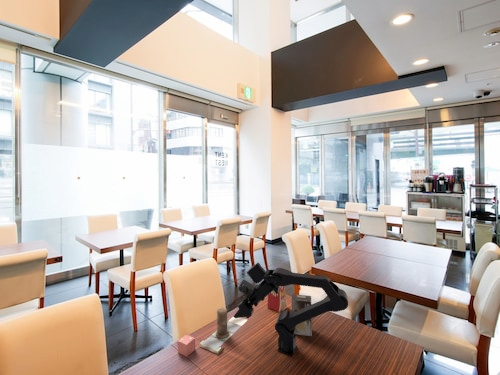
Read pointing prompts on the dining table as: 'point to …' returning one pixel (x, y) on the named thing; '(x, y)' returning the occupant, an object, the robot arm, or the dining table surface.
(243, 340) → the dining table surface
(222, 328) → the pawn
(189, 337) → the die
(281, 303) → the milk carton
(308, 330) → the coffee box
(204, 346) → the board
